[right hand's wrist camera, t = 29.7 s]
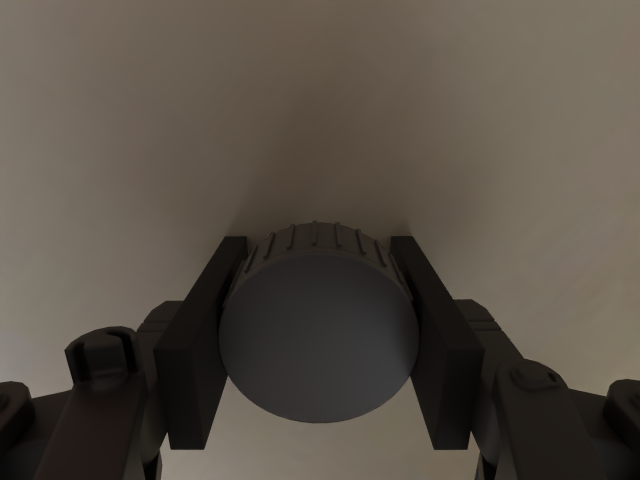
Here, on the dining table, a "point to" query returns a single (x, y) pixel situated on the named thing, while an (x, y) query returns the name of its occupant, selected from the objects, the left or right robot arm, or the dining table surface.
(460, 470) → the dining table surface
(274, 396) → the lid
